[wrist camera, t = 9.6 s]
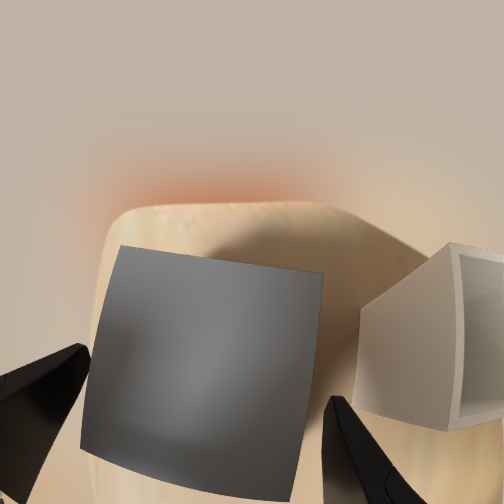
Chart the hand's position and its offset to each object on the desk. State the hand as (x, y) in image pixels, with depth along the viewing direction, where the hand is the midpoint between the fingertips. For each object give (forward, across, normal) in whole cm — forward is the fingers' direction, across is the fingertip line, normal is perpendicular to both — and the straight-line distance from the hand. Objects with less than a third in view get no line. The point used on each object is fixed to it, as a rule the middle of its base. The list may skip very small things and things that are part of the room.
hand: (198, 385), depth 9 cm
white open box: (+7, -11, +4) cm, 14 cm away
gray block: (+2, 0, +2) cm, 3 cm away
